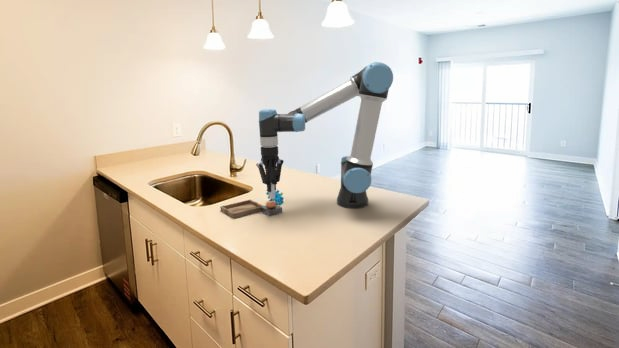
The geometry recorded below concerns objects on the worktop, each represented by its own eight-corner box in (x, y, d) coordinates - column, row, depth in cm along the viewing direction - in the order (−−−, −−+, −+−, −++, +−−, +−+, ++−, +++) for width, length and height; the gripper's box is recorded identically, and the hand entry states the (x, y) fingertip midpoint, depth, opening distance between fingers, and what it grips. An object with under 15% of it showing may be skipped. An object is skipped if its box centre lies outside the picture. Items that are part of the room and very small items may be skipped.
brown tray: (264, 210, 159) (264, 206, 159) (233, 219, 150) (233, 214, 149) (250, 203, 169) (250, 199, 168) (220, 211, 159) (220, 206, 158)
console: (282, 212, 157) (282, 207, 156) (269, 216, 152) (269, 210, 152) (273, 208, 162) (273, 203, 161) (260, 212, 158) (260, 206, 157)
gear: (274, 204, 162) (264, 187, 165) (267, 211, 165) (257, 194, 168) (289, 201, 171) (279, 185, 174) (282, 208, 174) (272, 192, 177)
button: (278, 208, 156) (278, 202, 156) (269, 210, 154) (269, 204, 153) (272, 205, 160) (272, 200, 159) (264, 208, 157) (264, 202, 156)
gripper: (276, 143, 156) (279, 193, 162) (251, 146, 148) (255, 199, 154) (286, 145, 151) (288, 196, 157) (261, 149, 143) (264, 203, 149)
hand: (272, 198), depth 155 cm, fingers closed
